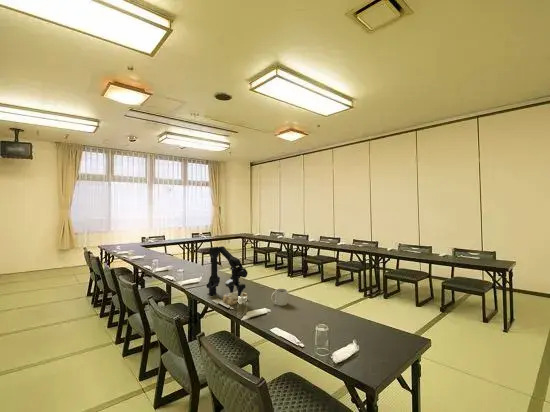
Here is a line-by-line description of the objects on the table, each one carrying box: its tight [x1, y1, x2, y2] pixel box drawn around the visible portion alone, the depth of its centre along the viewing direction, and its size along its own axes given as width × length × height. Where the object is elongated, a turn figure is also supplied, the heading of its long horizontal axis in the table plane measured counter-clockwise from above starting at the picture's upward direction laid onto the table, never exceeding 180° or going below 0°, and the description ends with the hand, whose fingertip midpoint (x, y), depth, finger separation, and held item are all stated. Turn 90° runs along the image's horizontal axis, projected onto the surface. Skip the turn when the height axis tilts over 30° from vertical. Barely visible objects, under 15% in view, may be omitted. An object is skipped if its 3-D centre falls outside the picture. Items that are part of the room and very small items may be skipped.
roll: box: [227, 290, 244, 300], centre depth 213 cm, size 10×6×6 cm, turn 135°
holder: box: [222, 291, 248, 306], centre depth 213 cm, size 11×16×5 cm
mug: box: [270, 288, 288, 307], centre depth 207 cm, size 11×10×10 cm
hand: (235, 295), depth 213 cm, fingers open, 9 cm apart
